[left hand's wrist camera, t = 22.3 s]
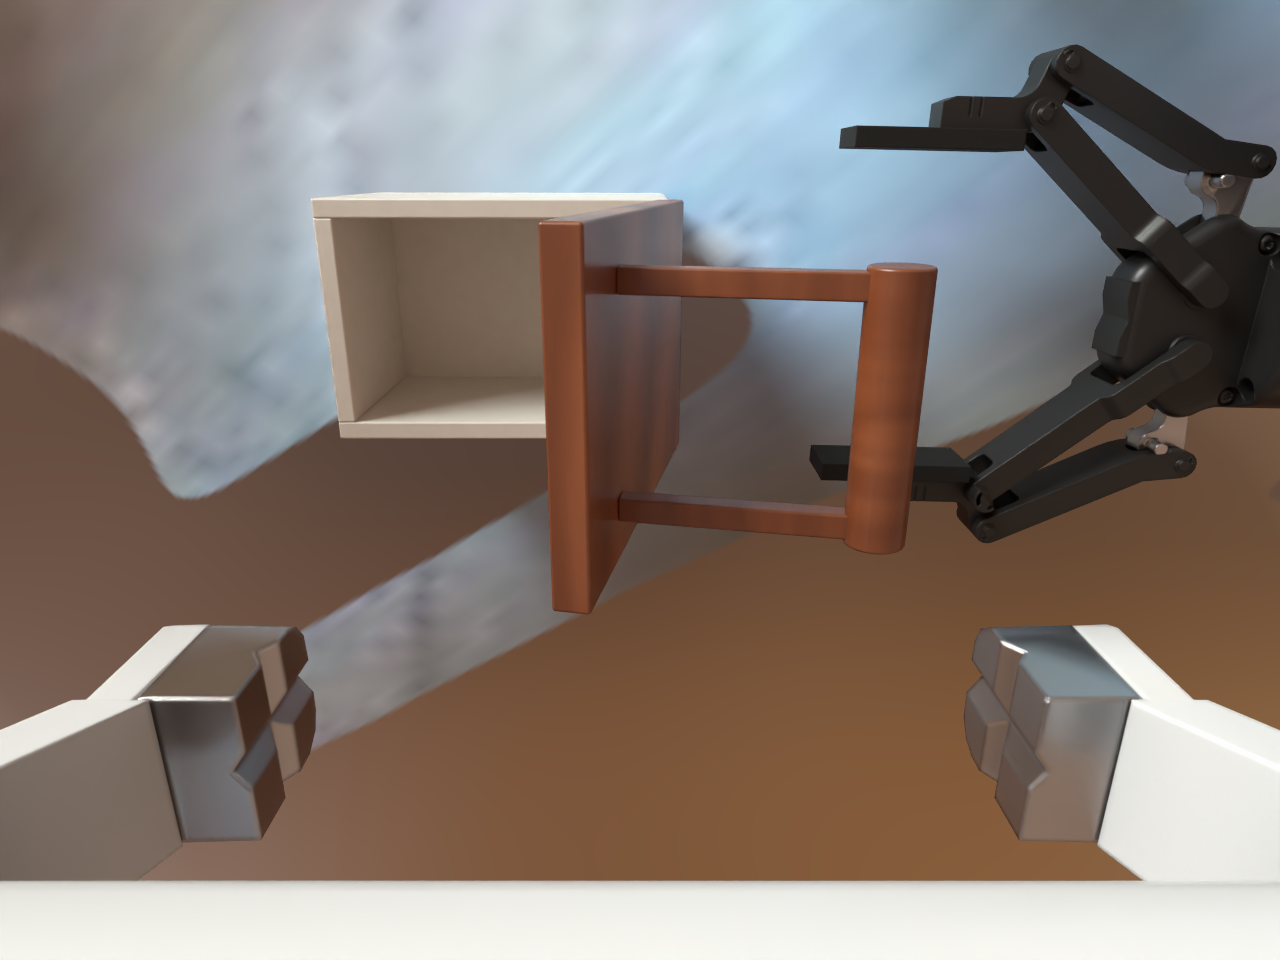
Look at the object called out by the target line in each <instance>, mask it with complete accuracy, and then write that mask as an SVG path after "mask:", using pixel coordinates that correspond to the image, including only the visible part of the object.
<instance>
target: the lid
mask: <svg viewBox="0 0 1280 960" xmlns="http://www.w3.org/2000/svg"><path fill="white" fill-rule="evenodd" d="M538 239H539V265H540V292H541V318H542V344H543V371H544V397H545V423H546V449H547V476H548V502H549V528H550V555H551V581H552V607H553V610H554V611H560V612H570V613H580V614H590V613H591V611H592V609H593V608H594V606H595V604H596V602H597V600H598V598H599V596H600V594H601V592H602V590H603V588H604V586H605V584H606V582H607V581H608V579H609V577H610V575H611V573H612V571H613V569H614V567H615V565H616V563H617V561H618V559H619V557H620V555H621V554H622V552H623V550H624V548H625V546H626V544H627V542H628V540H629V538H630V536H631V534H632V532H633V530H634V528H635V527H636V525H637V523H647V524H659V525H672V526H684V527H697V528H709V529H722V530H734V531H747V532H759V533H772V534H785V535H797V536H810V537H822V538H835V539H843V541H844V543H845V544H846V545H847V546H849V547H850V548H852V549H855V550H857V551H861V552H865V553H870V554H891V553H895V552H898V551H900V550H901V549H903V547H904V545H905V538H906V530H907V522H908V513H909V505H910V497H911V489H912V480H913V472H914V464H915V455H916V447H917V439H918V430H919V422H920V414H921V405H922V397H923V389H924V380H925V372H926V364H927V355H928V347H929V339H930V330H931V322H932V314H933V305H934V297H935V289H936V280H937V272H938V270H937V267H935V266H932V265H926V264H917V263H875V264H871V265H868V267H867V270H843V269H800V268H756V267H713V266H682V251H683V201H682V200H654V201H648V202H643V203H637V204H632V205H626V206H621V207H615V208H610V209H604V210H598V211H593V212H587V213H582V214H576V215H571V216H565V217H560V218H554V219H549V220H543V221H540V222H539V224H538ZM682 297H708V298H740V299H774V300H808V301H841V302H864V306H863V316H862V327H861V338H860V349H859V360H858V371H857V382H856V393H855V404H854V415H853V425H852V436H851V447H850V458H849V469H848V480H847V491H846V502H845V507H833V506H820V505H806V504H792V503H779V502H765V501H751V500H738V499H724V498H710V497H697V496H683V495H669V494H656V493H653V492H654V490H655V488H656V486H657V484H658V482H659V480H660V478H661V476H662V474H663V473H664V471H665V469H666V467H667V465H668V463H669V461H670V459H671V457H672V455H673V453H674V451H675V449H676V447H677V446H678V444H679V413H680V359H681V305H682Z"/></svg>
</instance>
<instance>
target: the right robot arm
mask: <svg viewBox="0 0 1280 960" xmlns="http://www.w3.org/2000/svg"><path fill="white" fill-rule="evenodd" d="M1028 75H1029V77H1028V79H1027V81H1026V83H1025V85H1024V87H1023V89H1022V90H1021V92H1020V93H1019V94H1018V95H1016V96H1015V97H976V96H973V97H972V96H955V97H951V98H947V99H943V100H941V101H938V102H936V103H933V104H932V105H931V113H930V121H929V127H896V126H853V127H848V128H843V129H841V135H840V146H839V149H882V150H926V151H969V152H1008V151H1024V148H1025V149H1026V151H1027V152H1028V153H1029V154H1030V155H1031V156H1032V157H1033V158H1034V159H1035V160H1036V162H1037V163H1038V164H1039V165H1040V166H1041V167H1042V168H1043V169H1044V170H1045V172H1046V173H1047V174H1048V175H1049V176H1050V177H1051V178H1052V179H1053V180H1054V181H1055V183H1056V184H1057V185H1058V186H1059V187H1060V188H1061V189H1062V190H1063V191H1064V192H1065V194H1066V195H1067V196H1068V197H1069V198H1070V199H1071V200H1072V201H1073V202H1074V204H1075V205H1076V206H1077V207H1078V208H1079V209H1080V210H1081V211H1082V212H1083V213H1084V215H1085V216H1086V217H1087V218H1088V219H1089V220H1090V221H1091V222H1092V223H1093V224H1094V226H1095V227H1096V228H1097V229H1098V230H1099V231H1100V232H1101V238H1102V240H1103V241H1104V242H1105V243H1106V245H1107V246H1108V247H1109V248H1110V249H1111V250H1112V251H1113V252H1114V253H1115V254H1116V256H1117V257H1118V258H1119V259H1120V260H1121V261H1122V263H1121V264H1120V265H1119V266H1118V268H1117V269H1116V270H1115V272H1114V274H1113V276H1112V277H1108V276H1106V280H1105V285H1104V290H1103V310H1104V312H1103V315H1102V317H1101V319H1100V321H1099V324H1098V326H1097V328H1096V330H1095V334H1094V339H1093V343H1092V348H1094V349H1096V350H1097V355H1098V358H1099V360H1097V361H1096V362H1095V363H1093V364H1092V365H1090V366H1089V367H1087V368H1086V369H1085V370H1083V371H1082V372H1080V373H1079V374H1077V375H1076V376H1075V377H1074V378H1073V379H1072V382H1071V385H1070V386H1069V387H1068V388H1066V389H1065V390H1063V391H1062V392H1061V393H1059V394H1058V395H1056V396H1055V397H1053V398H1052V399H1050V400H1049V401H1048V402H1046V403H1045V404H1043V405H1042V406H1040V407H1039V408H1038V409H1036V410H1035V411H1033V412H1032V413H1030V414H1029V415H1027V416H1026V417H1025V418H1023V419H1022V420H1020V421H1019V422H1017V423H1016V424H1015V425H1013V426H1012V427H1010V428H1009V429H1007V430H1006V431H1004V432H1003V433H1002V434H1000V435H999V436H997V437H996V438H994V439H993V440H992V441H990V442H989V443H987V444H986V445H984V446H983V447H981V448H980V449H979V450H977V451H976V452H974V453H973V454H971V455H970V456H969V457H967V458H966V459H964V460H963V459H962V458H961V457H960V456H959V455H958V454H957V453H955V452H954V451H953V450H952V449H951V448H936V447H916V455H915V464H914V472H913V480H912V489H911V497H910V501H942V502H957V505H958V508H957V516H958V518H959V519H960V521H961V522H962V523H963V524H964V525H965V526H966V527H967V528H968V529H969V530H970V531H971V533H972V534H973V535H974V536H975V537H976V538H977V539H978V540H979V541H981V542H983V543H991V542H994V541H997V540H999V539H1002V538H1004V537H1006V536H1009V535H1011V534H1014V533H1016V532H1019V531H1021V530H1024V529H1026V528H1029V527H1031V526H1034V525H1036V524H1039V523H1041V522H1043V521H1046V520H1048V519H1051V518H1053V517H1056V516H1058V515H1061V514H1063V513H1066V512H1068V511H1071V510H1073V509H1075V508H1078V507H1080V506H1083V505H1085V504H1088V503H1090V502H1093V501H1095V500H1098V499H1100V498H1103V497H1105V496H1107V495H1110V494H1112V493H1115V492H1117V491H1120V490H1122V489H1125V488H1127V487H1130V486H1132V485H1135V484H1137V483H1140V482H1142V481H1152V480H1163V479H1175V478H1183V477H1186V476H1188V475H1190V474H1191V473H1192V472H1193V471H1194V469H1195V467H1196V464H1197V462H1196V458H1195V456H1194V455H1193V454H1191V453H1189V452H1187V451H1185V450H1184V446H1185V439H1186V431H1187V424H1188V416H1190V415H1193V414H1195V413H1197V412H1199V411H1201V410H1204V409H1207V408H1212V407H1239V408H1280V228H1270V227H1252V226H1250V225H1248V224H1246V223H1245V222H1244V221H1243V220H1241V219H1240V218H1239V217H1240V214H1241V211H1242V209H1243V206H1244V203H1245V200H1246V198H1247V195H1248V192H1249V189H1250V187H1251V184H1252V181H1253V178H1262V177H1265V176H1267V175H1268V174H1269V173H1270V172H1271V171H1272V170H1273V168H1274V167H1275V165H1276V160H1277V156H1276V152H1275V151H1274V150H1273V148H1271V147H1269V146H1266V145H1259V144H1252V143H1246V142H1239V141H1233V140H1226V139H1224V138H1222V137H1221V136H1219V135H1218V134H1216V133H1215V132H1213V131H1212V130H1210V129H1209V128H1207V127H1206V126H1204V125H1202V124H1201V123H1199V122H1198V121H1196V120H1195V119H1193V118H1192V117H1190V116H1189V115H1187V114H1185V113H1184V112H1182V111H1181V110H1179V109H1178V108H1176V107H1175V106H1173V105H1172V104H1170V103H1169V102H1167V101H1165V100H1164V99H1162V98H1161V97H1159V96H1158V95H1156V94H1155V93H1153V92H1152V91H1150V90H1148V89H1147V88H1145V87H1144V86H1142V85H1141V84H1139V83H1138V82H1136V81H1135V80H1133V79H1132V78H1130V77H1128V76H1127V75H1125V74H1124V73H1122V72H1121V71H1119V70H1118V69H1116V68H1115V67H1113V66H1112V65H1110V64H1108V63H1107V62H1105V61H1104V60H1102V59H1101V58H1099V57H1098V56H1096V55H1095V54H1093V53H1091V52H1090V51H1088V50H1087V49H1085V48H1084V47H1082V46H1079V45H1070V46H1066V47H1063V48H1060V49H1056V50H1053V51H1049V52H1046V53H1042V54H1040V55H1038V56H1036V57H1035V58H1034V59H1033V61H1032V62H1031V64H1030V66H1029V73H1028ZM1063 103H1065V104H1066V105H1068V106H1069V107H1071V108H1073V109H1074V110H1076V111H1077V112H1079V113H1080V114H1082V115H1084V116H1085V117H1087V118H1088V119H1090V120H1092V121H1093V122H1095V123H1096V124H1098V125H1099V126H1101V127H1103V128H1104V129H1106V130H1107V131H1109V132H1110V133H1112V134H1114V135H1115V136H1117V137H1118V138H1120V139H1122V140H1123V141H1125V142H1126V143H1128V144H1129V145H1131V146H1133V147H1134V148H1136V149H1137V150H1139V151H1141V152H1142V153H1144V154H1145V155H1147V156H1148V157H1150V158H1152V159H1153V160H1155V161H1156V162H1158V163H1160V164H1161V165H1163V166H1165V167H1167V168H1169V169H1172V170H1175V171H1178V172H1182V173H1186V174H1187V175H1186V177H1185V179H1184V183H1185V185H1186V186H1187V187H1188V189H1189V191H1190V192H1191V193H1193V194H1194V195H1196V196H1198V197H1199V198H1200V199H1201V200H1202V202H1203V212H1202V214H1200V215H1197V216H1194V217H1192V218H1190V219H1189V220H1187V221H1186V222H1184V223H1182V224H1181V225H1179V226H1178V227H1175V226H1174V225H1173V224H1172V223H1171V222H1170V221H1169V220H1167V219H1166V218H1164V217H1162V216H1160V215H1159V214H1157V213H1156V212H1155V211H1154V210H1153V209H1152V208H1151V206H1150V205H1149V204H1148V203H1147V202H1146V201H1145V200H1144V198H1143V197H1142V196H1141V195H1140V194H1139V193H1138V192H1137V190H1136V189H1135V188H1134V187H1133V186H1132V185H1131V184H1130V182H1129V181H1128V180H1127V179H1126V178H1125V177H1124V176H1123V174H1122V173H1121V172H1120V171H1119V170H1118V169H1117V168H1116V167H1115V165H1114V164H1113V163H1112V162H1111V161H1110V160H1109V159H1108V157H1107V156H1106V155H1105V154H1104V153H1103V152H1102V151H1101V149H1100V148H1099V147H1098V146H1097V145H1096V144H1095V143H1094V141H1093V140H1092V139H1091V138H1090V137H1089V136H1088V135H1087V133H1086V132H1085V131H1084V130H1083V129H1082V128H1081V127H1080V125H1079V124H1078V123H1077V122H1076V121H1075V120H1074V119H1073V118H1072V116H1071V115H1070V114H1069V113H1068V112H1067V111H1066V110H1065V108H1064V107H1063V106H1062V104H1063ZM1118 381H1120V382H1121V383H1120V384H1116V385H1114V384H1115V383H1117V382H1118ZM1145 404H1146V405H1147V406H1148V407H1150V408H1152V409H1154V415H1153V417H1152V419H1151V420H1150V421H1149V422H1148V423H1147V424H1145V425H1142V426H1140V427H1137V428H1131V429H1129V430H1128V431H1127V432H1126V438H1125V439H1118V440H1114V441H1110V442H1106V443H1103V444H1101V445H1098V446H1095V447H1093V448H1090V449H1088V450H1086V451H1083V452H1081V453H1078V454H1076V455H1073V456H1071V457H1069V458H1066V459H1064V460H1061V461H1059V462H1057V463H1054V464H1052V465H1049V466H1047V467H1045V468H1042V469H1040V468H1041V467H1043V466H1044V465H1046V464H1047V463H1049V462H1050V461H1051V460H1053V459H1054V458H1056V457H1057V456H1059V455H1060V454H1062V453H1063V452H1065V451H1066V450H1068V449H1069V448H1071V447H1072V446H1074V445H1075V444H1077V443H1078V442H1079V441H1081V440H1082V439H1084V438H1085V437H1087V436H1088V435H1090V434H1091V433H1093V432H1094V431H1096V430H1097V429H1099V428H1100V427H1102V426H1103V425H1105V424H1106V423H1108V422H1109V421H1111V420H1114V419H1122V418H1124V417H1127V416H1128V415H1130V414H1132V413H1133V412H1135V411H1136V410H1138V409H1139V408H1141V407H1142V406H1144V405H1145ZM850 447H851V446H835V445H811V450H810V462H811V464H812V465H813V467H814V469H815V470H816V472H817V474H818V475H819V477H820V479H821V480H842V481H847V480H848V469H849V458H850ZM1038 469H1040V470H1038Z"/></svg>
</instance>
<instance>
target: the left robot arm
mask: <svg viewBox="0 0 1280 960" xmlns="http://www.w3.org/2000/svg"><path fill="white" fill-rule="evenodd" d="M307 661H308V656H307V651H306V646H305V641H304V635H303V634H302V633H301V632H300V631H299V630H298V629H297V628H296V627H272V626H219V625H216V626H212V625H175V626H167V627H163V628H162V629H161V630H160V631H159V632H158V633H157V634H156V635H154V636H153V637H152V638H151V639H150V640H149V641H148V642H147V643H146V644H145V645H144V646H143V647H142V648H141V649H140V650H139V651H138V652H136V653H135V654H134V655H133V656H132V657H131V658H130V659H129V660H128V661H127V662H126V663H125V664H124V665H123V666H122V667H121V668H119V669H118V670H117V671H116V672H115V673H114V674H113V675H112V676H111V677H110V678H109V679H108V680H107V681H106V682H105V683H104V684H103V685H101V686H100V687H99V688H98V689H97V690H96V691H95V692H94V693H93V694H92V695H91V696H90V697H89V698H88V699H87V700H71V701H69V702H66V703H64V704H62V705H59V706H57V707H54V708H52V709H50V710H47V711H45V712H42V713H40V714H38V715H35V716H33V717H30V718H28V719H26V720H23V721H21V722H19V723H16V724H14V725H11V726H9V727H7V728H4V729H2V730H0V960H1280V730H1278V729H1276V728H1273V727H1271V726H1268V725H1266V724H1264V723H1261V722H1259V721H1256V720H1254V719H1252V718H1249V717H1247V716H1245V715H1242V714H1240V713H1237V712H1235V711H1233V710H1230V709H1228V708H1226V707H1223V706H1221V705H1218V704H1216V703H1214V702H1211V701H1209V700H1193V699H1192V698H1191V697H1190V696H1189V695H1188V694H1187V693H1186V692H1185V691H1184V690H1183V689H1182V688H1181V687H1180V686H1179V685H1177V683H1175V682H1174V681H1173V680H1172V679H1171V678H1170V677H1169V676H1168V675H1167V674H1166V673H1165V672H1164V671H1163V670H1162V669H1161V668H1160V667H1159V666H1158V665H1156V664H1155V663H1154V662H1153V661H1152V660H1151V659H1150V658H1149V657H1148V656H1147V655H1146V654H1145V653H1144V652H1143V651H1142V650H1141V649H1140V648H1139V647H1137V646H1136V645H1135V644H1134V643H1133V642H1132V641H1131V640H1130V639H1129V638H1128V637H1127V636H1126V635H1125V634H1124V633H1123V632H1122V631H1120V629H1118V628H1116V627H1113V626H1110V625H1107V624H1103V625H1080V626H1030V627H990V628H983V629H980V631H979V633H978V635H977V638H976V640H975V644H974V650H973V655H972V661H973V662H974V664H975V665H976V667H977V668H978V670H979V671H980V673H981V675H982V676H981V677H980V678H979V680H978V681H977V682H976V683H975V684H974V685H973V686H972V687H971V688H970V689H969V690H968V691H967V694H966V702H965V711H964V723H965V733H966V740H967V744H968V747H969V750H970V753H971V756H972V758H973V760H974V762H975V763H976V765H977V767H978V769H979V771H981V772H982V773H984V774H985V775H987V776H989V777H990V778H992V779H993V780H995V781H996V782H997V786H996V792H995V799H996V801H997V803H998V804H999V806H1000V808H1001V810H1002V811H1003V813H1004V815H1005V816H1006V818H1007V820H1008V822H1009V823H1010V825H1011V827H1012V829H1013V830H1014V832H1015V834H1016V836H1017V837H1018V839H1019V840H1025V841H1062V842H1098V845H1097V846H1098V847H1099V848H1101V849H1102V850H1103V851H1105V852H1106V853H1107V854H1109V855H1110V856H1111V857H1112V858H1114V859H1115V860H1116V861H1118V862H1119V863H1121V864H1122V865H1123V866H1124V867H1126V868H1127V869H1128V870H1130V871H1131V872H1132V873H1134V874H1135V875H1136V876H1137V877H1139V878H1140V879H1141V880H1143V881H138V880H139V879H140V878H142V877H143V876H144V875H145V874H147V873H148V872H149V871H151V870H152V869H153V868H155V867H156V866H157V865H159V864H160V863H161V862H163V861H164V860H165V859H167V858H168V857H169V856H170V855H172V854H173V853H174V852H176V851H177V850H178V849H180V848H181V847H182V842H217V841H251V840H261V839H262V838H263V836H264V834H265V832H266V831H267V829H268V827H269V825H270V824H271V822H272V820H273V818H274V817H275V815H276V813H277V811H278V810H279V808H280V806H281V804H282V803H283V801H284V799H285V792H284V786H283V781H285V780H287V779H288V778H290V777H291V776H293V775H295V774H296V773H298V772H299V771H301V769H302V767H303V765H304V763H305V761H306V759H307V758H308V756H309V754H310V750H311V746H312V742H313V738H314V734H315V725H316V708H315V701H314V694H313V691H312V690H311V689H310V688H309V687H308V686H307V685H306V684H305V683H304V682H303V681H302V680H301V678H300V677H299V676H298V675H299V673H300V672H301V670H302V668H303V667H304V665H305V664H306V662H307Z"/></svg>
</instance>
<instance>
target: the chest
mask: <svg viewBox="0 0 1280 960" xmlns="http://www.w3.org/2000/svg"><path fill="white" fill-rule="evenodd" d="M654 200H669V199H668V198H667V197H666V196H665V195H663V194H662V193H369V194H357V195H346V196H334V197H323V198H312V199H311V205H312V213H313V217H314V220H313V221H314V229H315V237H316V245H317V253H318V261H319V269H320V277H321V285H322V293H323V301H324V309H325V317H326V325H327V333H328V341H329V349H330V357H331V365H332V373H333V381H334V389H335V397H336V405H337V413H338V420H339V428H340V436H341V438H492V439H493V438H494V439H497V438H499V439H502V438H503V439H505V438H507V439H509V438H511V439H512V438H515V439H546V423H545V397H544V371H543V344H542V318H541V292H540V265H539V239H538V224H539V222H540V221H543V220H549V219H554V218H560V217H565V216H571V215H576V214H582V213H587V212H593V211H598V210H604V209H610V208H615V207H621V206H626V205H632V204H637V203H643V202H648V201H654Z"/></svg>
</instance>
